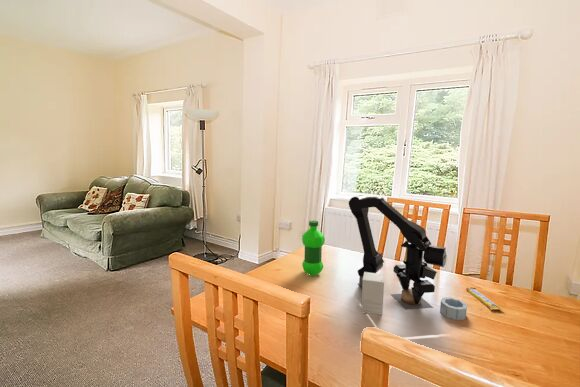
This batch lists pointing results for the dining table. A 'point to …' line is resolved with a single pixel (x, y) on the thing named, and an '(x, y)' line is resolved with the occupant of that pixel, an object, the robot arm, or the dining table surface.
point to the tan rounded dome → (408, 297)
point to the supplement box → (372, 293)
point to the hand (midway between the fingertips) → (411, 298)
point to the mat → (407, 306)
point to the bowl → (453, 308)
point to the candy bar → (483, 299)
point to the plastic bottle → (313, 249)
